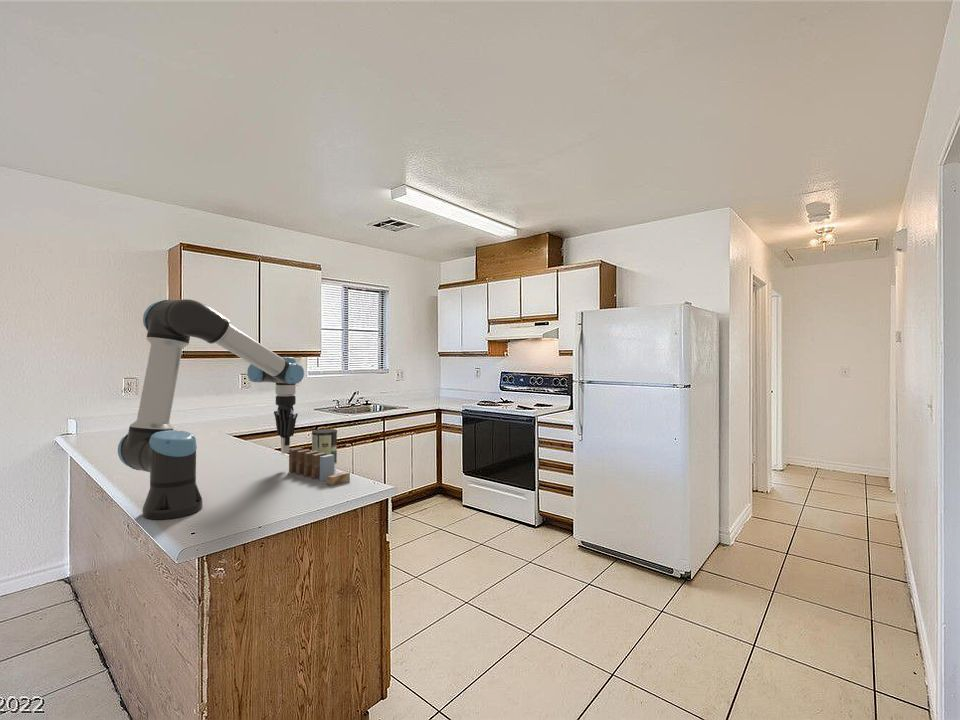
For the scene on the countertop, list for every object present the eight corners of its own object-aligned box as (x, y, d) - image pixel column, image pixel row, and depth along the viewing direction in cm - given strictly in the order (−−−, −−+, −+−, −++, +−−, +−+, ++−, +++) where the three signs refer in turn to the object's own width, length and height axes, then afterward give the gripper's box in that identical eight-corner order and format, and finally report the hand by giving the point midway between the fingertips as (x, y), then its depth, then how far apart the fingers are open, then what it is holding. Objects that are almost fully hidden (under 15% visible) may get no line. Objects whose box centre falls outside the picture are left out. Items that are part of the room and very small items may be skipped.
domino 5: (334, 478, 184) (334, 454, 184) (323, 481, 180) (323, 457, 180) (330, 477, 185) (331, 454, 185) (319, 480, 181) (320, 456, 181)
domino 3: (318, 474, 189) (318, 451, 189) (307, 477, 185) (307, 453, 185) (314, 473, 190) (315, 450, 190) (303, 476, 186) (304, 452, 186)
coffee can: (328, 459, 214) (329, 427, 214) (341, 463, 207) (341, 430, 207) (306, 463, 207) (307, 430, 206) (319, 467, 199) (319, 433, 199)
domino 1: (303, 470, 195) (303, 448, 195) (292, 473, 191) (292, 450, 190) (300, 469, 196) (300, 447, 196) (288, 472, 192) (289, 449, 192)
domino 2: (310, 472, 192) (310, 449, 192) (299, 475, 188) (299, 452, 188) (307, 471, 193) (307, 449, 193) (296, 474, 189) (296, 451, 189)
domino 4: (326, 476, 187) (326, 453, 186) (315, 479, 182) (315, 455, 182) (322, 475, 188) (323, 452, 188) (311, 478, 184) (311, 454, 183)
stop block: (332, 485, 175) (332, 477, 174) (326, 484, 176) (326, 475, 176) (349, 480, 181) (349, 472, 181) (344, 479, 183) (344, 471, 183)
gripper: (303, 395, 196) (303, 453, 197) (284, 393, 203) (284, 449, 204) (287, 396, 190) (286, 456, 190) (267, 394, 197) (267, 452, 198)
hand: (285, 452), depth 197 cm, fingers closed
